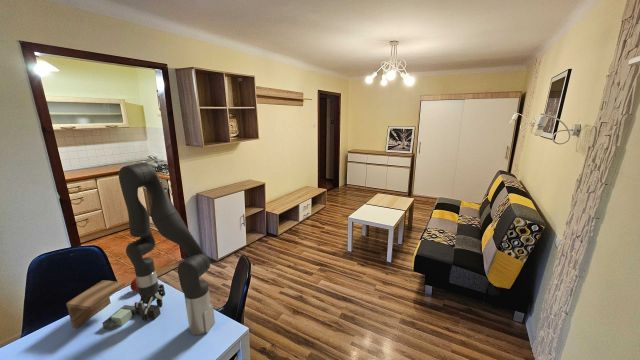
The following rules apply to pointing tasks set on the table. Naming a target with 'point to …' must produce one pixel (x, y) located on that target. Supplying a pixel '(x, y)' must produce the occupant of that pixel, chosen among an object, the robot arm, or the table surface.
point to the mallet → (152, 314)
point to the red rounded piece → (134, 285)
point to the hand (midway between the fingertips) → (153, 313)
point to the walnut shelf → (91, 301)
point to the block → (121, 317)
